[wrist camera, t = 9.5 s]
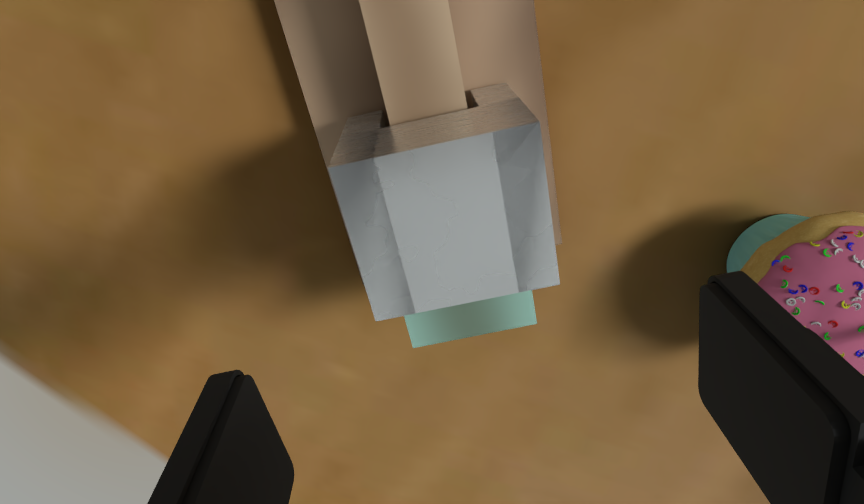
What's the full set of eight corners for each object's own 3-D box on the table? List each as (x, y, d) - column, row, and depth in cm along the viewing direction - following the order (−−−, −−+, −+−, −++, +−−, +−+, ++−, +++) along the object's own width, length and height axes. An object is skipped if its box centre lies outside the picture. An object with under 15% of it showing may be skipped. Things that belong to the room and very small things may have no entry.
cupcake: (821, 146, 27) (1100, 264, 16) (875, 267, 30) (1137, 433, 19) (661, 246, 29) (812, 410, 18) (728, 349, 32) (889, 540, 21)
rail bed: (484, -360, 18) (526, -540, 12) (556, 233, 28) (599, 311, 22) (194, -280, 19) (83, -410, 12) (364, 272, 29) (352, 360, 22)
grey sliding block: (505, 82, 23) (539, 121, 17) (524, 211, 26) (560, 284, 20) (348, 117, 24) (327, 167, 18) (383, 241, 26) (375, 321, 20)
